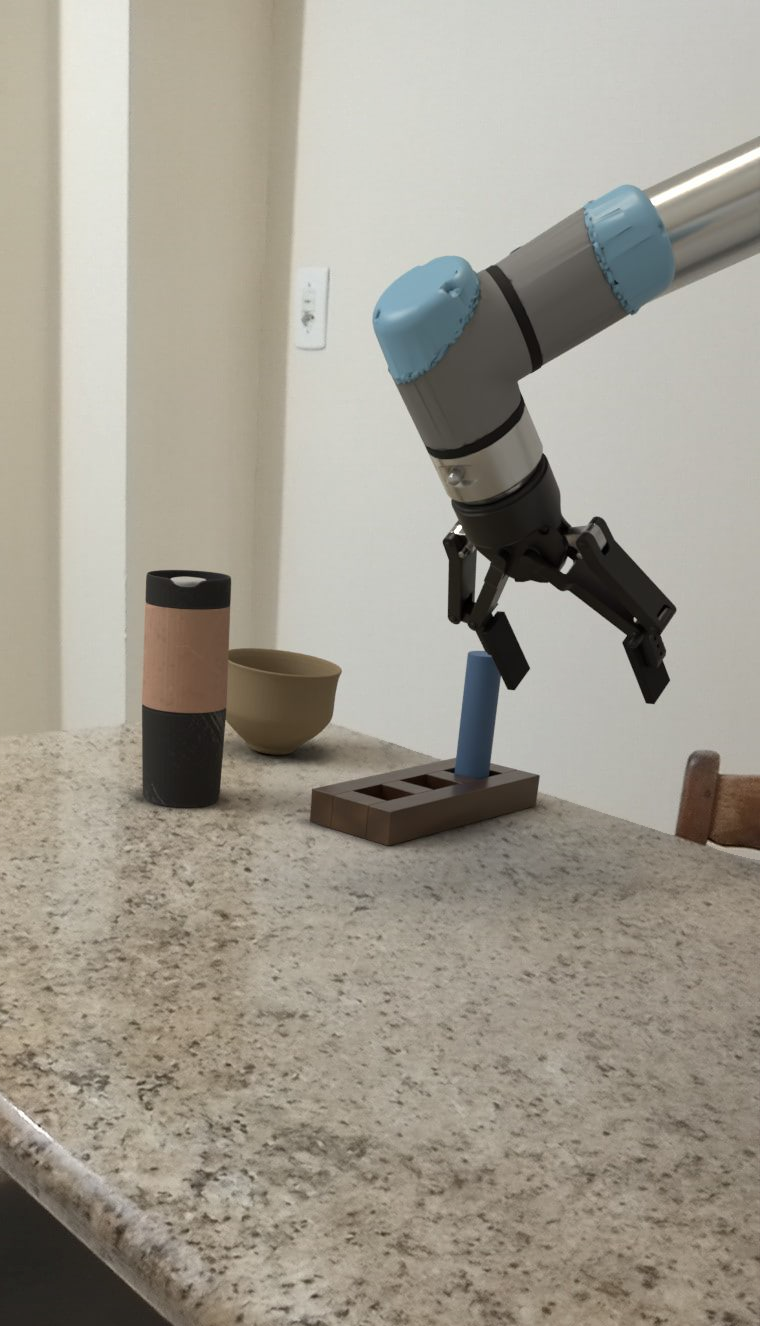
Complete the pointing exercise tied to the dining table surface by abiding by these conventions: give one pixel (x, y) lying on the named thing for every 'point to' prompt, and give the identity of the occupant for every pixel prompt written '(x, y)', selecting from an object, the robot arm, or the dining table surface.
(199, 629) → the travel mug
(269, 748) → the bowl
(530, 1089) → the dining table surface
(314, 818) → the rack
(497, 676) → the peg
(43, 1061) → the dining table surface
